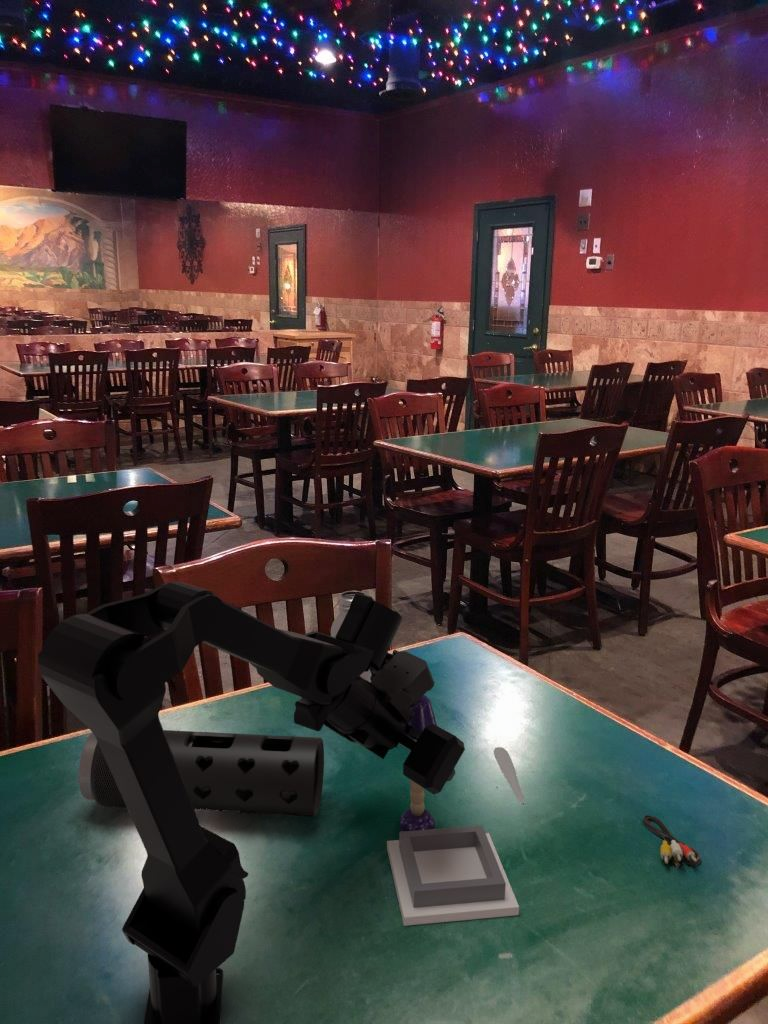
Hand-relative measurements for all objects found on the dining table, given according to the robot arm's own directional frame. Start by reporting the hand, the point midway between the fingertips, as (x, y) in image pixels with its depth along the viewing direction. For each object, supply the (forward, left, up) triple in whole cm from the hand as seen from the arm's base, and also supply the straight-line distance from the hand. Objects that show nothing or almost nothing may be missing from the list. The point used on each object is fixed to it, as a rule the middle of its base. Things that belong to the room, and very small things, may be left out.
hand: (424, 759), depth 98 cm
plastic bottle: (+24, +6, -8) cm, 26 cm away
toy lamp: (-1, +1, -8) cm, 9 cm away
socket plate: (-11, -1, -8) cm, 14 cm away
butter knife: (+1, -14, -9) cm, 16 cm away
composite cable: (-8, -28, -9) cm, 30 cm away
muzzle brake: (+5, +26, -9) cm, 28 cm away
